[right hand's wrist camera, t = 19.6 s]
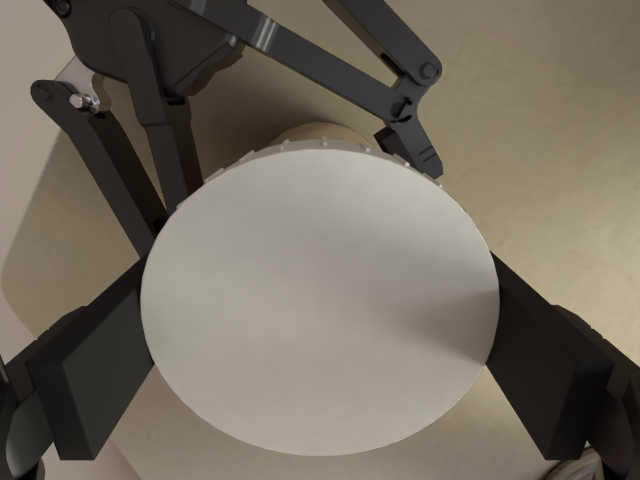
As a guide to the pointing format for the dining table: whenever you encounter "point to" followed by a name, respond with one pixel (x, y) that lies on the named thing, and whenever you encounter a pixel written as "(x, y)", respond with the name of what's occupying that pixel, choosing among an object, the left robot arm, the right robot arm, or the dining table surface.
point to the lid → (319, 299)
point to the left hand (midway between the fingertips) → (364, 285)
